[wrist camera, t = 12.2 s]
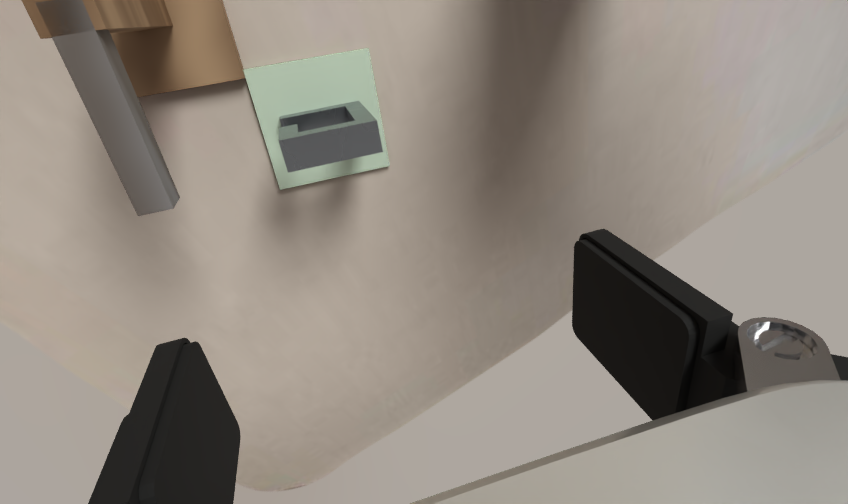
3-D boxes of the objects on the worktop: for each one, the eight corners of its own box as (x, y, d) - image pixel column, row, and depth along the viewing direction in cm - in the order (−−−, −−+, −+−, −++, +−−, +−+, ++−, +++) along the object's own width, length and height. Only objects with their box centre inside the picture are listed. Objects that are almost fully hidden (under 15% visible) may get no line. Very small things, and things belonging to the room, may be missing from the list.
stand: (204, -57, 29) (148, -111, 17) (263, 132, 35) (251, 191, 23) (48, -38, 27) (-135, -82, 15) (136, 157, 33) (53, 234, 21)
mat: (367, 47, 34) (368, 48, 34) (388, 164, 38) (389, 165, 38) (243, 69, 32) (243, 70, 32) (280, 188, 37) (280, 189, 36)
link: (358, 100, 35) (377, 120, 28) (364, 126, 36) (382, 151, 29) (279, 116, 34) (278, 140, 27) (287, 142, 35) (288, 172, 28)
